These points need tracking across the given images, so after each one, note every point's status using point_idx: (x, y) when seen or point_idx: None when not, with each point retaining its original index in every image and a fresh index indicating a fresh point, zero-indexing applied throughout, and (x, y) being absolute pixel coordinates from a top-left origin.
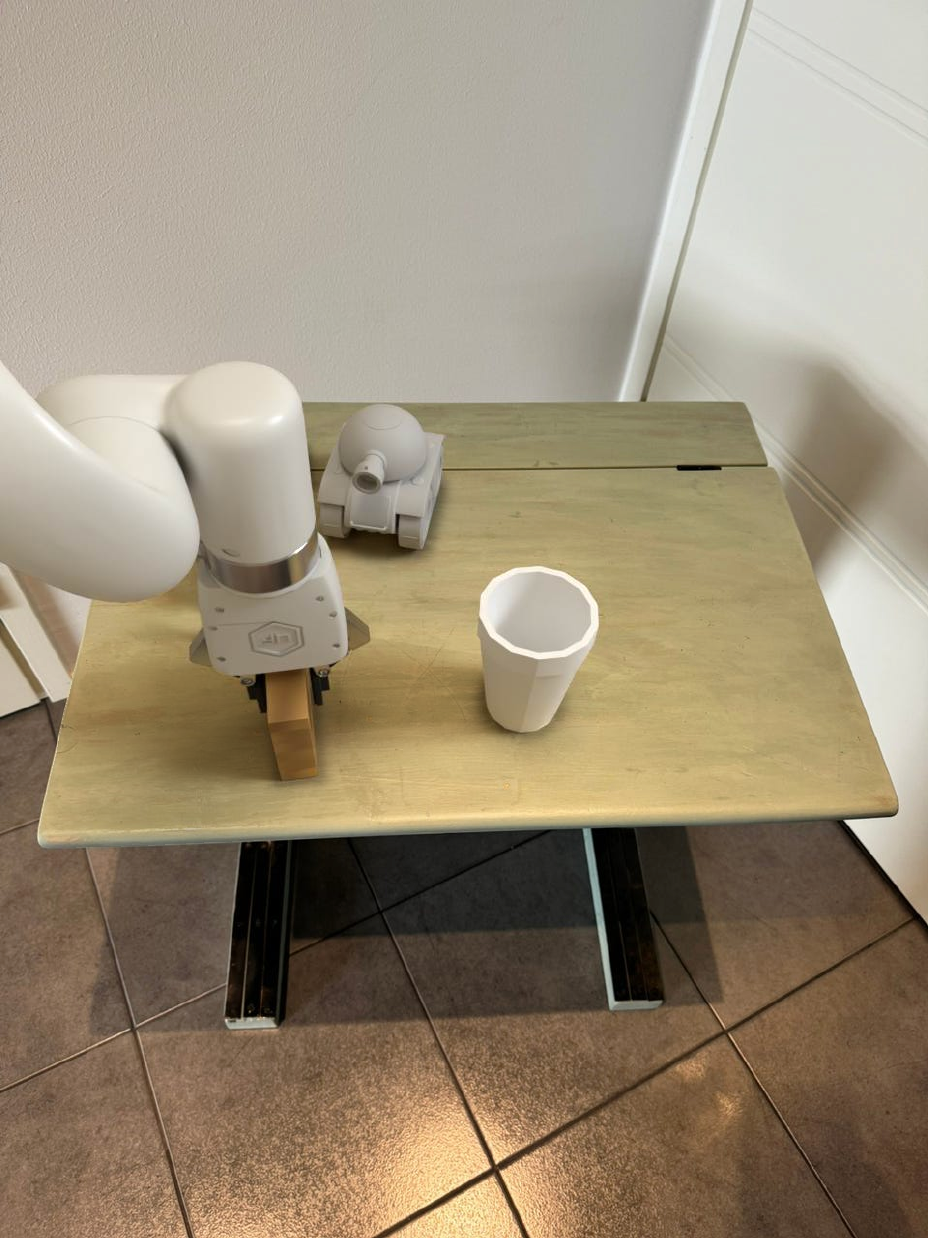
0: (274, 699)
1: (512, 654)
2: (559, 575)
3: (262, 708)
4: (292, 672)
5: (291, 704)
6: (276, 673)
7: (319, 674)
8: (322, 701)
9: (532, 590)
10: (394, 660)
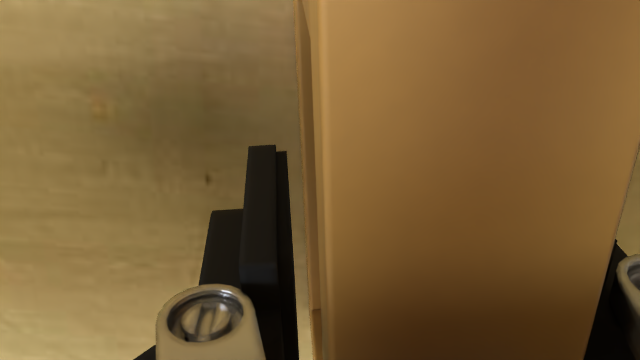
0: (586, 134)
1: None
2: None
3: None
4: (411, 335)
5: (458, 72)
6: (521, 334)
7: (236, 300)
8: (247, 160)
9: None
10: (40, 303)
